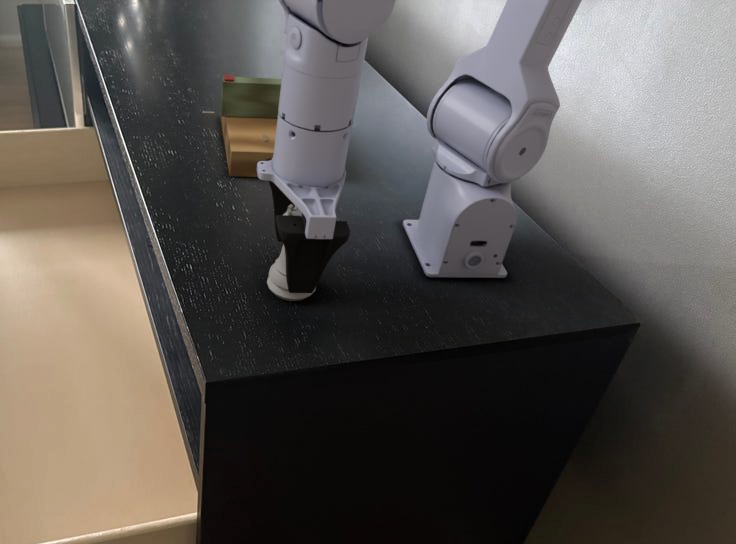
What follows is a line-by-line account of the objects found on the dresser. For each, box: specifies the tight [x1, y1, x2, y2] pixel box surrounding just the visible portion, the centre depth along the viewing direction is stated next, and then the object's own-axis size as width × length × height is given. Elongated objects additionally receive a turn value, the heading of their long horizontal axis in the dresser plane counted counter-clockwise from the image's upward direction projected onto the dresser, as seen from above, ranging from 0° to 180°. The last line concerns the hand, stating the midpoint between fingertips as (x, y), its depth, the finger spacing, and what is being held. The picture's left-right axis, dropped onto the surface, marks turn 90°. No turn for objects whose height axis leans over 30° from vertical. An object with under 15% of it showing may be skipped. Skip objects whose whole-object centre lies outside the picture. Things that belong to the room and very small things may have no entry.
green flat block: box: [219, 74, 282, 118], centre depth 86 cm, size 9×2×4 cm, turn 96°
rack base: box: [201, 110, 277, 178], centre depth 87 cm, size 16×15×3 cm
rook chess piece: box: [266, 204, 317, 302], centre depth 65 cm, size 4×4×8 cm
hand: (293, 264), depth 66 cm, fingers open, 7 cm apart
